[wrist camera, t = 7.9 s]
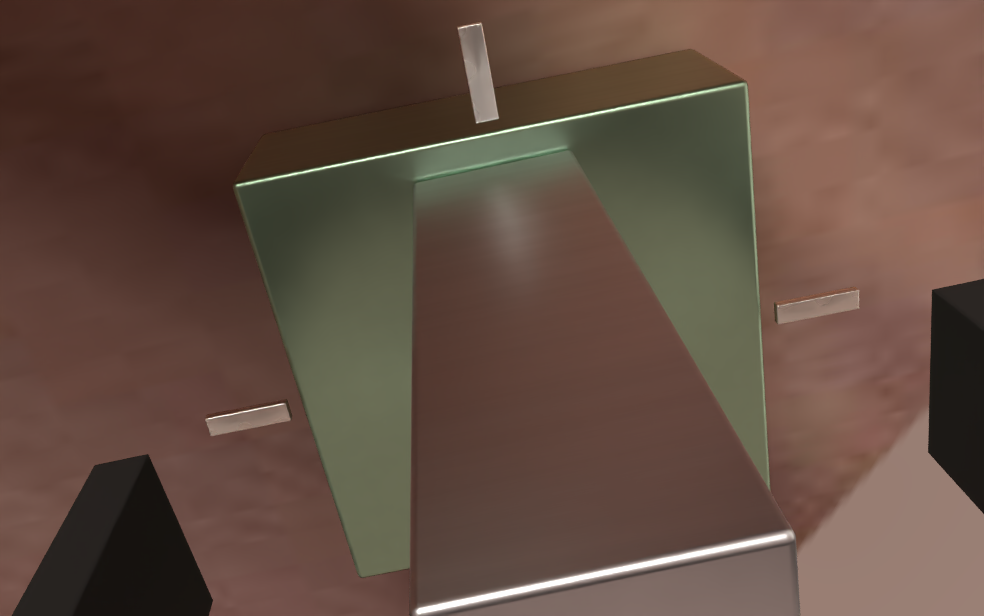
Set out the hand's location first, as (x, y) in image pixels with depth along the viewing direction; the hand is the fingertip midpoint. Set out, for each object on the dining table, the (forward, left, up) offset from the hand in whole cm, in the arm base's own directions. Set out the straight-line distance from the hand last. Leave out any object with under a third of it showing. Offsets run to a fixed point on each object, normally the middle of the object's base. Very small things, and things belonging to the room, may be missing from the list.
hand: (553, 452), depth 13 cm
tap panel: (0, 0, -6) cm, 6 cm away
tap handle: (0, 0, -3) cm, 3 cm away
